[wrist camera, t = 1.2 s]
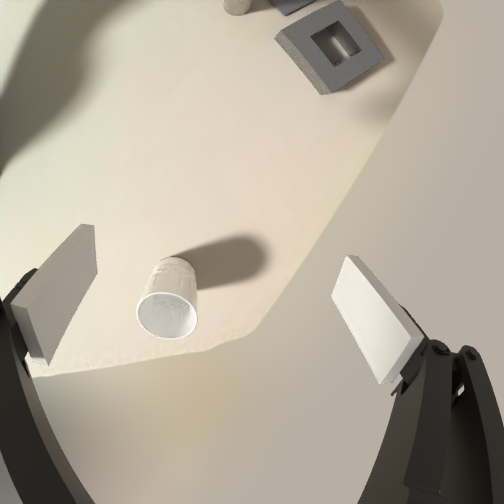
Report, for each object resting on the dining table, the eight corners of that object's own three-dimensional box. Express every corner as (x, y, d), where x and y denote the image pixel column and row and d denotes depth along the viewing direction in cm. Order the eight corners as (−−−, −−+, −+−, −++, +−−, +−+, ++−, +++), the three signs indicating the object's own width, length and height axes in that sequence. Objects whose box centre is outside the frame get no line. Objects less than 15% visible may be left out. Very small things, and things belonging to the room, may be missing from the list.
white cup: (186, 245, 41) (179, 283, 32) (208, 287, 44) (207, 330, 36) (140, 263, 41) (124, 303, 32) (164, 302, 45) (156, 345, 36)
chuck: (274, 38, 29) (280, 30, 25) (328, 8, 27) (339, -1, 23) (320, 95, 33) (331, 93, 29) (370, 62, 31) (384, 59, 27)
